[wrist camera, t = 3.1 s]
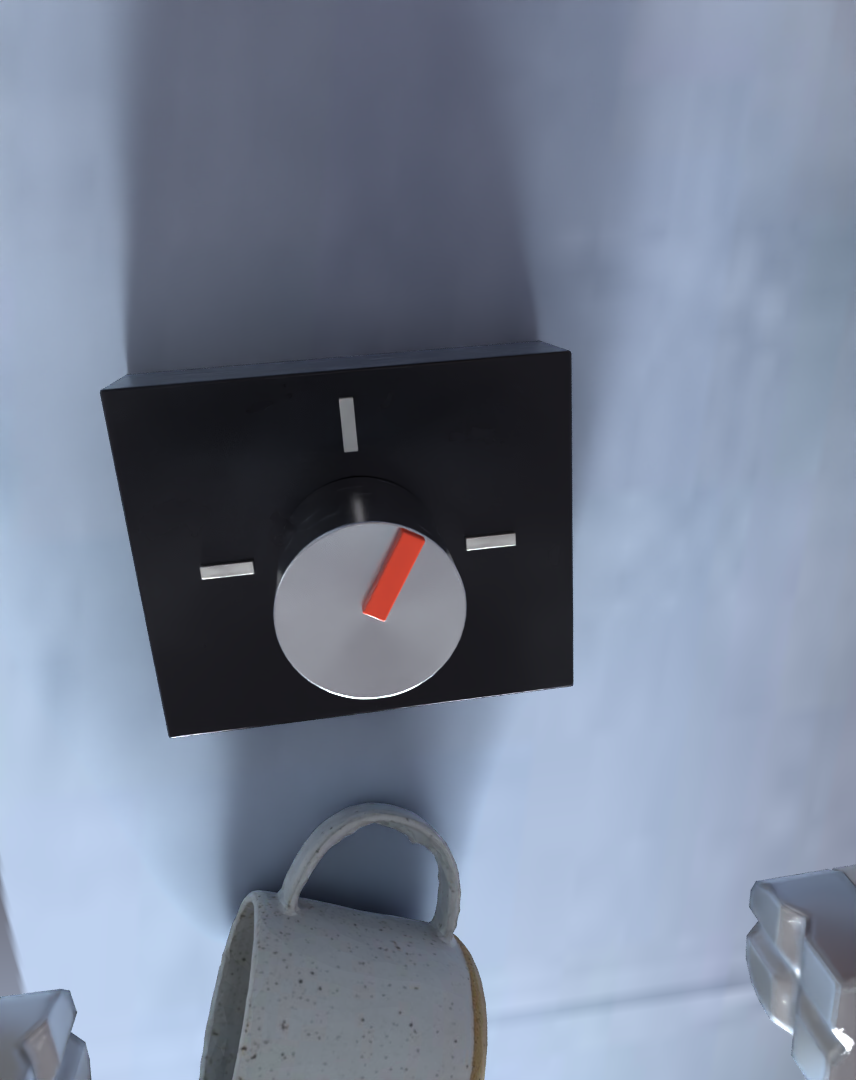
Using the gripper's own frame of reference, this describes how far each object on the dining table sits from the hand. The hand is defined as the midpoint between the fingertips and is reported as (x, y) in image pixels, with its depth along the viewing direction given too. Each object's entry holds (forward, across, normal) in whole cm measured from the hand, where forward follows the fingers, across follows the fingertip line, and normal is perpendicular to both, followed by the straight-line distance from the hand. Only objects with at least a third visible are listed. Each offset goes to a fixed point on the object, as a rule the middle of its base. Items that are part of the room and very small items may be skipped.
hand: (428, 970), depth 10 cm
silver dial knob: (+13, 0, 0) cm, 13 cm away
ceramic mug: (+17, +2, +14) cm, 22 cm away
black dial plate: (+16, 0, 0) cm, 17 cm away
